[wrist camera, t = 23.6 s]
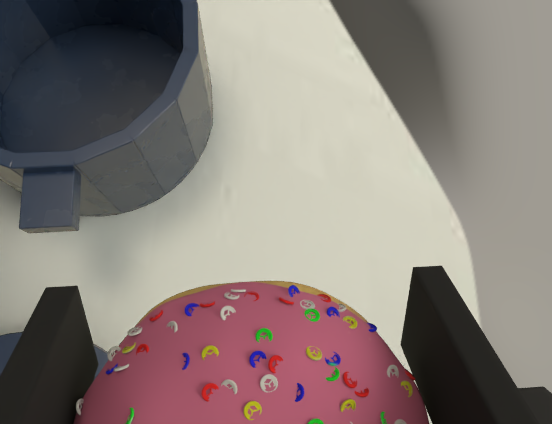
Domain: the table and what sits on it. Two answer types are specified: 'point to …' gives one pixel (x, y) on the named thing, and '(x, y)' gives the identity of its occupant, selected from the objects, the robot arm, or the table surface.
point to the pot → (99, 105)
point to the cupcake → (252, 363)
